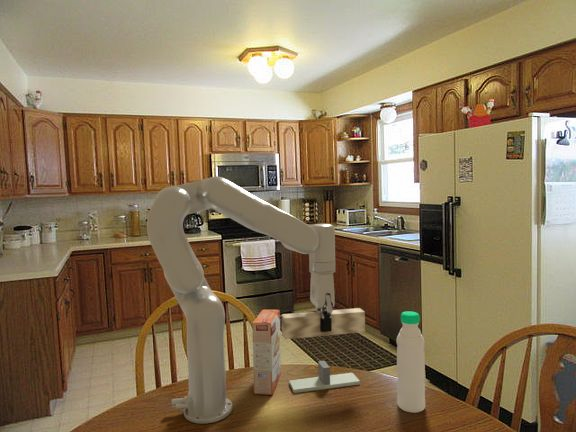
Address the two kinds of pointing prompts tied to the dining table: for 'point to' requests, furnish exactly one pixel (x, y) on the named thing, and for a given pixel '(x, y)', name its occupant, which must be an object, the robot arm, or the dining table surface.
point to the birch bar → (310, 323)
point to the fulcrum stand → (323, 380)
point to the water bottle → (410, 364)
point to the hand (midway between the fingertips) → (323, 328)
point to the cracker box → (266, 351)
